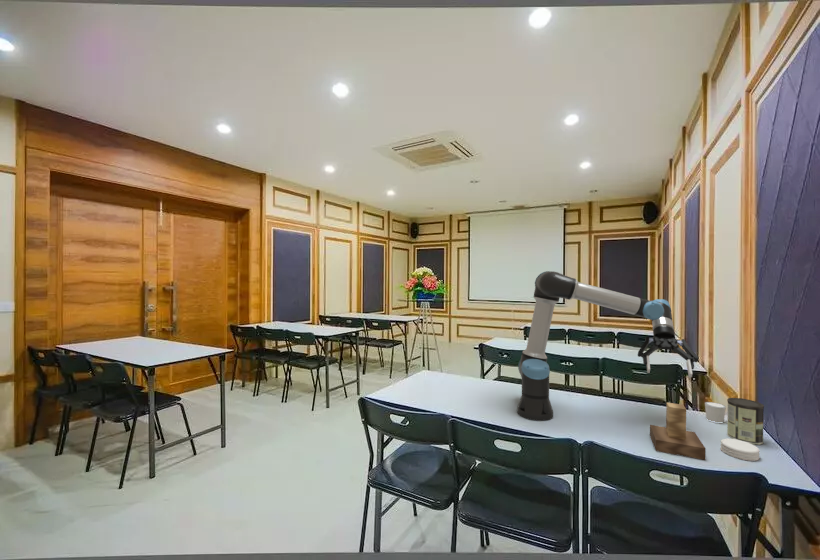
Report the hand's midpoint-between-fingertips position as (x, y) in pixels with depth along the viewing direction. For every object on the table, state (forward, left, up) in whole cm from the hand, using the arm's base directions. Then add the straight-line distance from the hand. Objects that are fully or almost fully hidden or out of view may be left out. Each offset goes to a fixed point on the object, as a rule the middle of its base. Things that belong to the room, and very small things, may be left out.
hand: (669, 373), depth 141 cm
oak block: (0, -13, -20) cm, 23 cm away
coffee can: (+25, +7, -24) cm, 35 cm away
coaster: (+19, -9, -24) cm, 32 cm away
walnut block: (0, -13, -24) cm, 27 cm away
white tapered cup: (+20, +23, -24) cm, 39 cm away
